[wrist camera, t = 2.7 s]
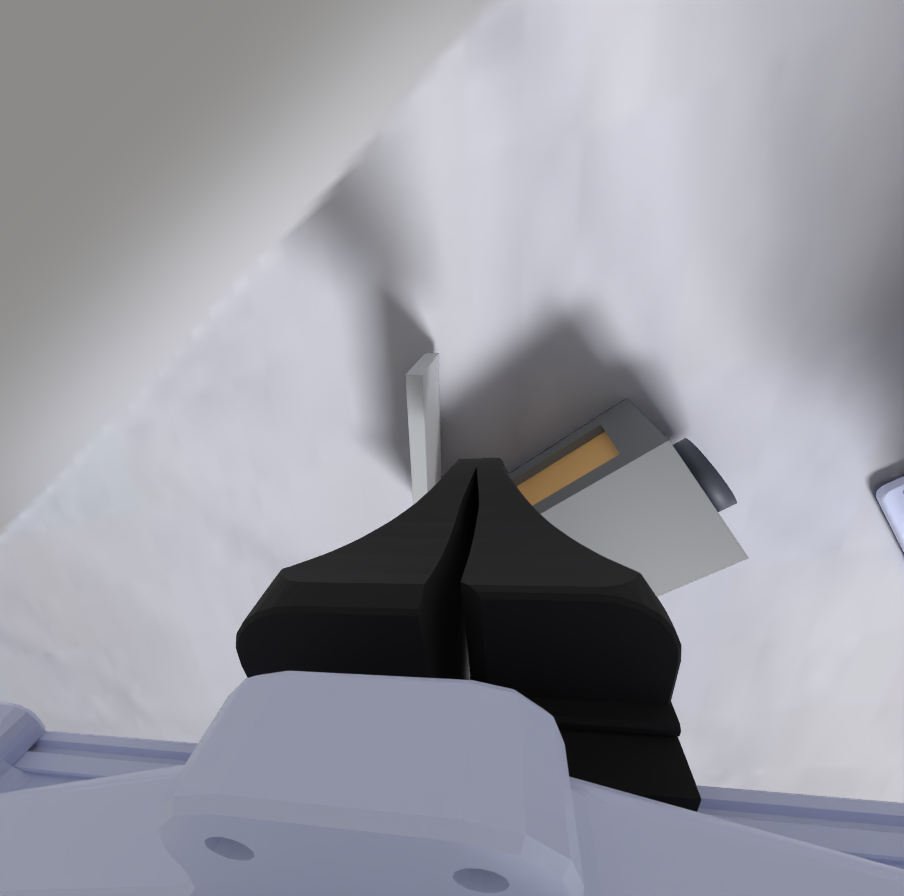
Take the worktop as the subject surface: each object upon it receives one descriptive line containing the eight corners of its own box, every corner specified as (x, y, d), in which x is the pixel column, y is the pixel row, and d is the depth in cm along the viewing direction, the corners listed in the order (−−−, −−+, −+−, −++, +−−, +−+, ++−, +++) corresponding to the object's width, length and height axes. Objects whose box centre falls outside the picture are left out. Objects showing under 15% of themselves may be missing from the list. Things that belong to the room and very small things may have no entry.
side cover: (422, 352, 16) (398, 376, 13) (442, 352, 16) (425, 377, 12) (428, 515, 20) (412, 572, 16) (445, 516, 20) (432, 574, 16)
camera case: (644, 386, 16) (700, 432, 11) (709, 484, 18) (780, 557, 13) (452, 509, 20) (439, 579, 15) (520, 580, 21) (525, 662, 17)
